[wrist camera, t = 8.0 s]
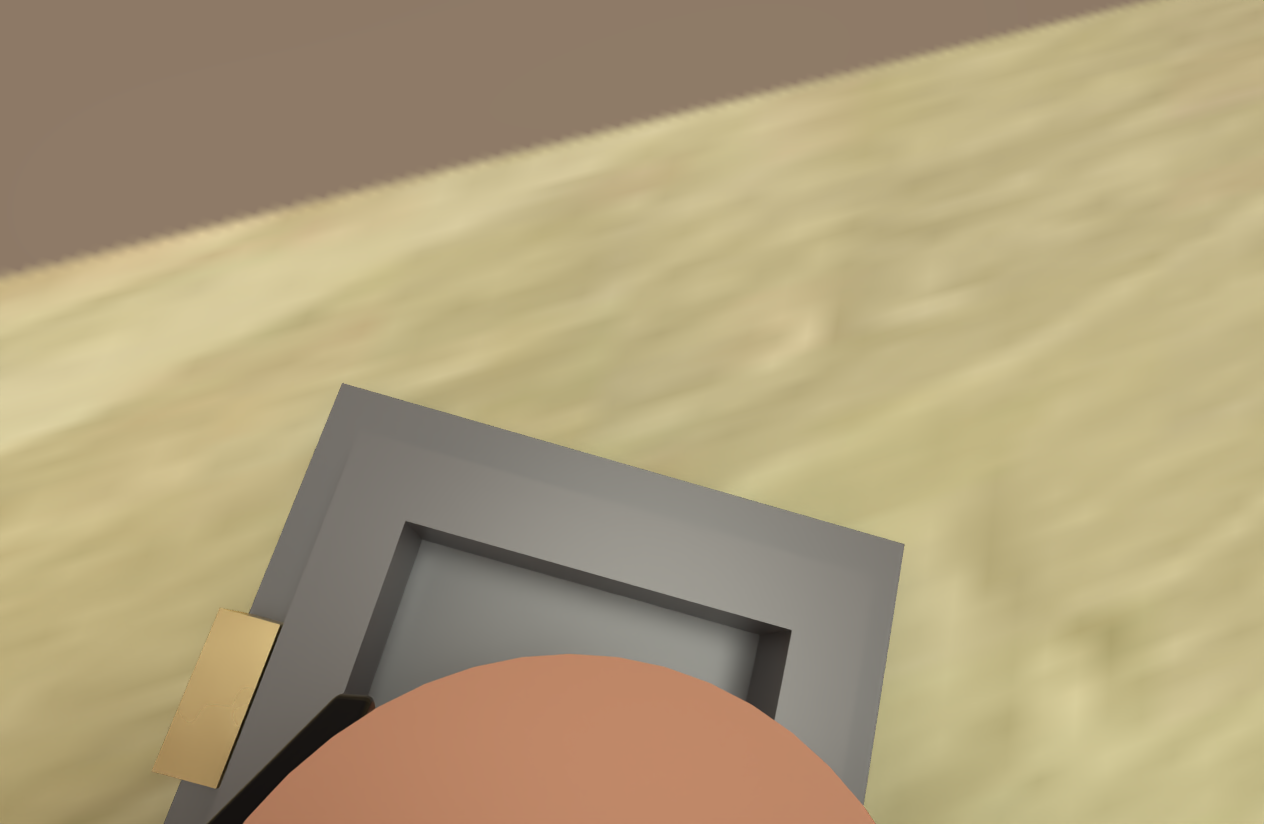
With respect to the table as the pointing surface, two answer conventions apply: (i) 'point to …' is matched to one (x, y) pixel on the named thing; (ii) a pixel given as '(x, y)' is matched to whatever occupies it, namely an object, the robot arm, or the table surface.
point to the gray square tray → (527, 592)
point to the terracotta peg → (563, 755)
